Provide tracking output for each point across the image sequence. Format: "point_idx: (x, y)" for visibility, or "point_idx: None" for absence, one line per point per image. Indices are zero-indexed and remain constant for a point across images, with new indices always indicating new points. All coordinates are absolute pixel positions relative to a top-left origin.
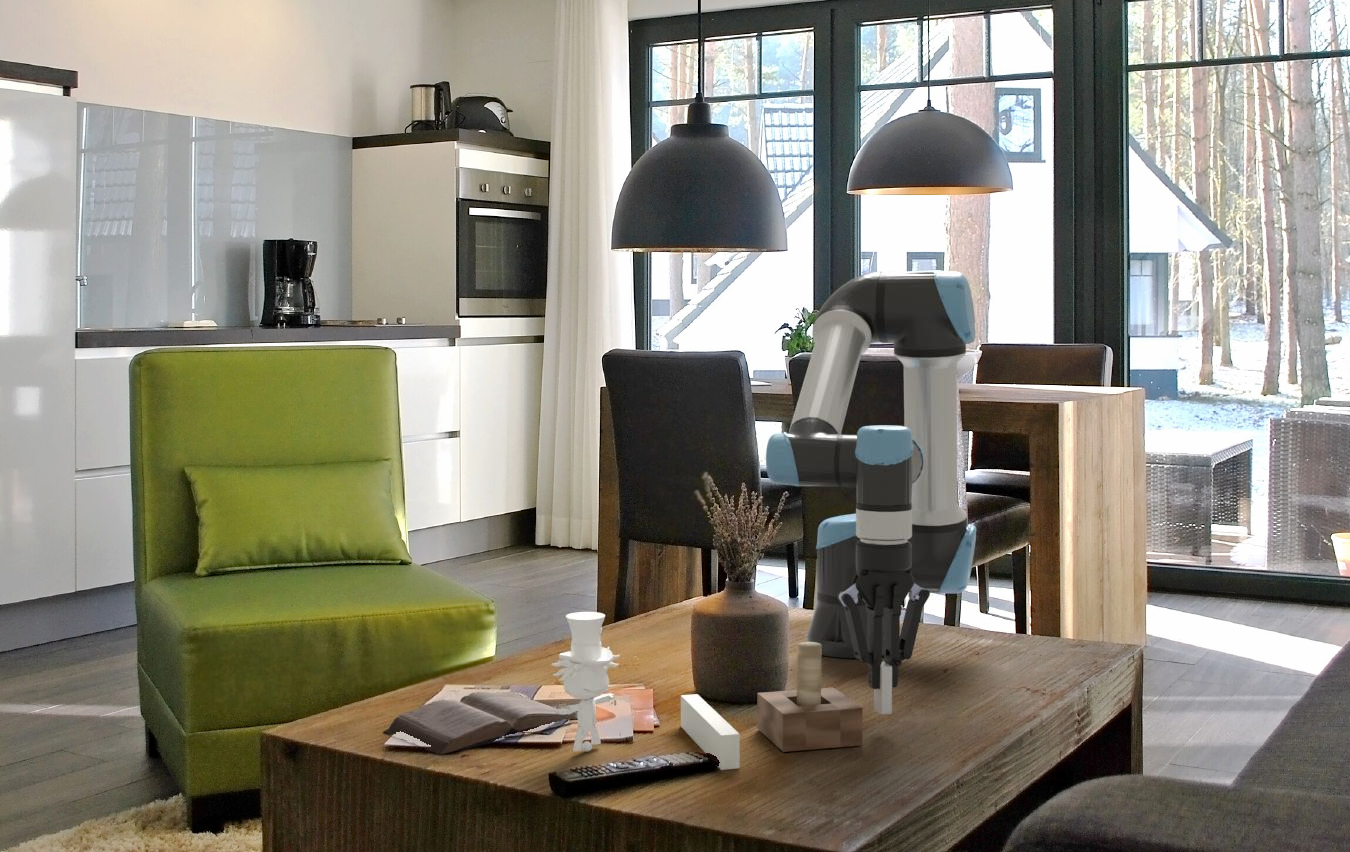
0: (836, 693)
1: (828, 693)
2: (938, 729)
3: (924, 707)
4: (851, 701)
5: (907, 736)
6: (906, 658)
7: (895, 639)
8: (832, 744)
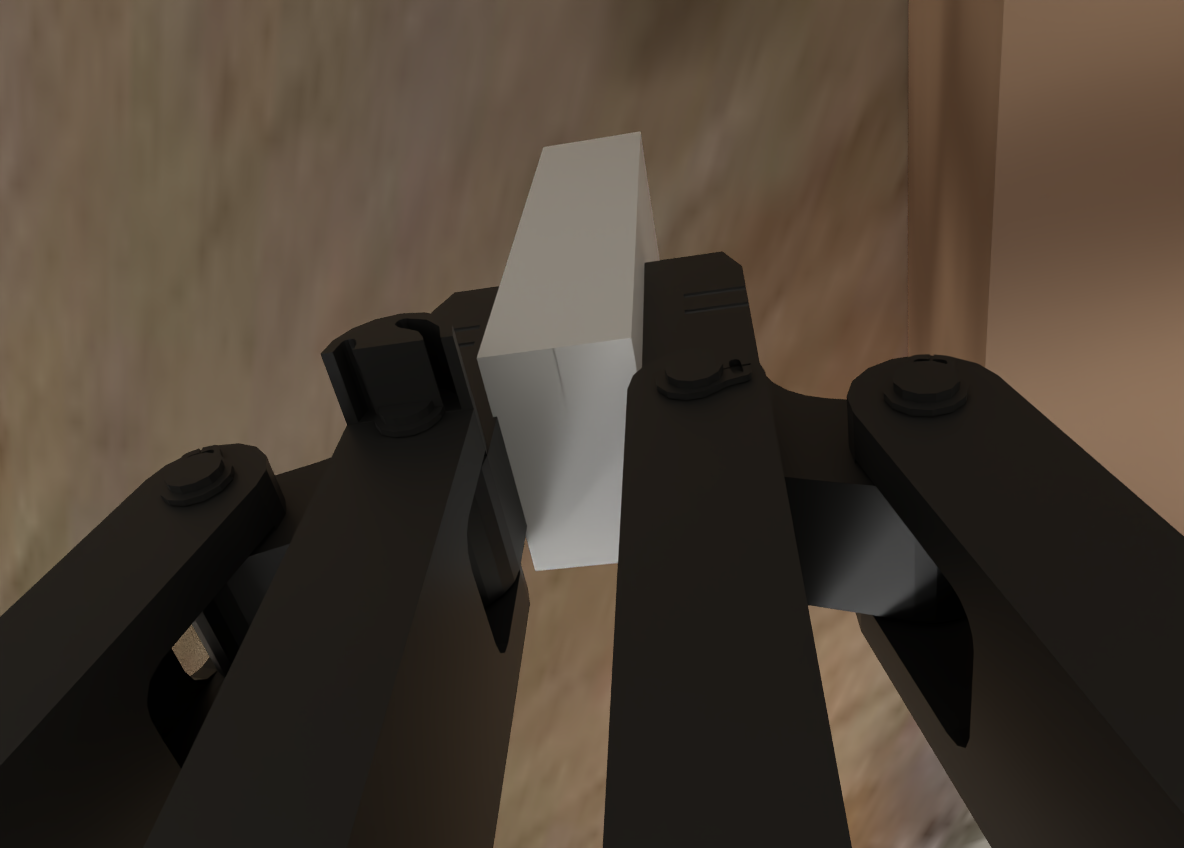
0: (1034, 377)
1: (1107, 390)
2: (196, 196)
3: None
4: (1018, 66)
5: (445, 41)
6: (235, 453)
7: (316, 662)
8: None
